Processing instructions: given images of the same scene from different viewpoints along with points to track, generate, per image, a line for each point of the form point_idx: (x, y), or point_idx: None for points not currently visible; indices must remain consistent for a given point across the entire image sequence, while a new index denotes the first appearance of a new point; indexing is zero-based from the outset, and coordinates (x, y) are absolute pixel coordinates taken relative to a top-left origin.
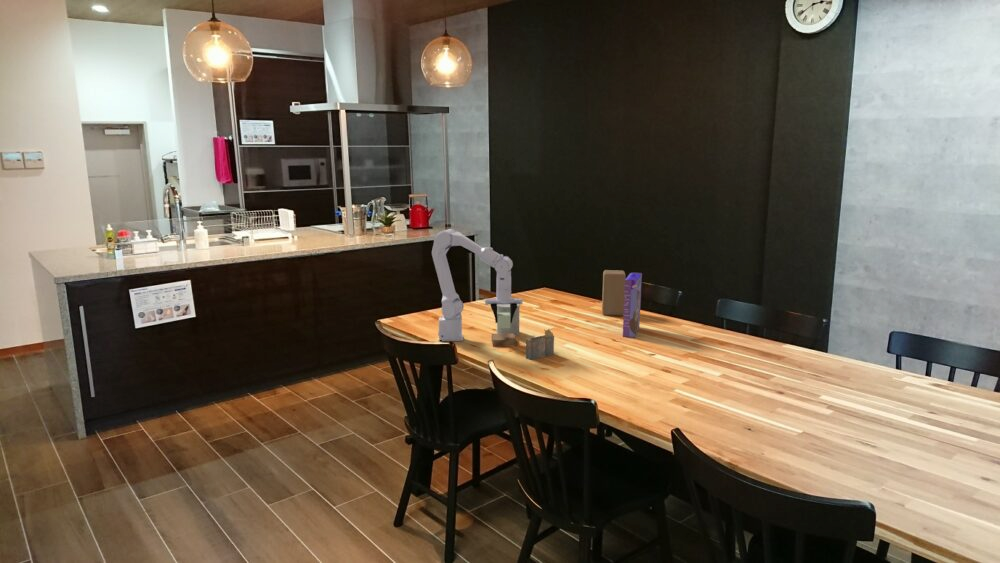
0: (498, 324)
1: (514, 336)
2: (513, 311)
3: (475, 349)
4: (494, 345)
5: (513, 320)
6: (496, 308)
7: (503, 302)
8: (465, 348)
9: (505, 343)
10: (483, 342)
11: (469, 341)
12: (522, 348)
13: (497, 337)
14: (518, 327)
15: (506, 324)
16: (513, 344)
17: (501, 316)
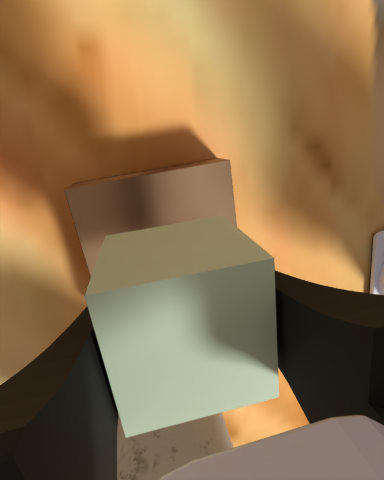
0: (224, 226)
1: (91, 267)
2: (22, 380)
3: (315, 79)
4: (209, 160)
5: (120, 452)
6: (369, 321)
7: (342, 469)
8: (368, 97)
9: (141, 173)
10: (272, 227)
11: (341, 234)
12: (14, 129)
13: None
14: None
15: (142, 240)
16: (88, 182)
17: (218, 264)
